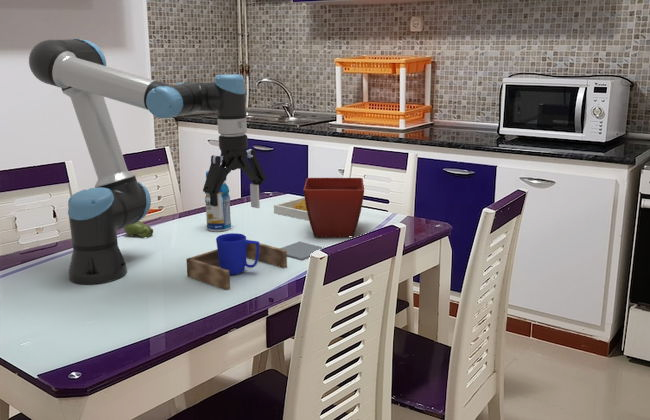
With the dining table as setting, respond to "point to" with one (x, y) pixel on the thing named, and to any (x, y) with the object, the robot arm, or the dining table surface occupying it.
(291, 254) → the mat
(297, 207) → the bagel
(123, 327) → the dining table surface
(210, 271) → the wooden u-shaped frame
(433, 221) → the dining table surface
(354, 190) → the plant pot
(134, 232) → the pear
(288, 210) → the bagel dish
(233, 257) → the mug
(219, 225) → the beverage bottle
